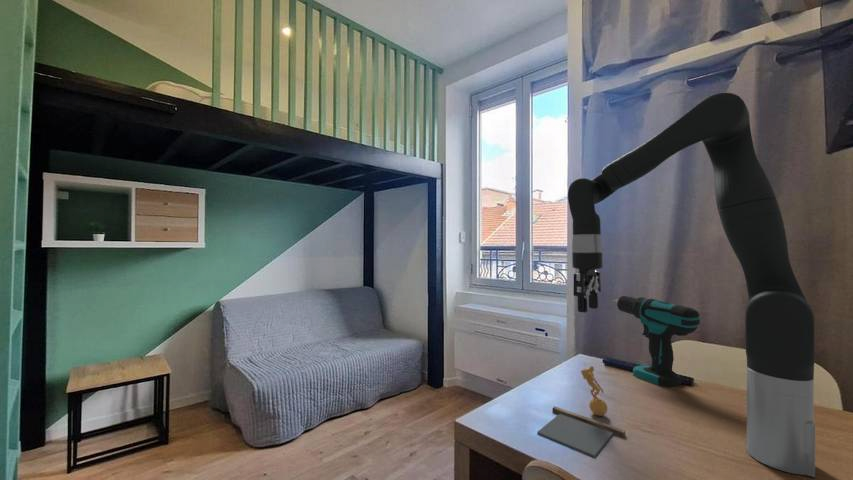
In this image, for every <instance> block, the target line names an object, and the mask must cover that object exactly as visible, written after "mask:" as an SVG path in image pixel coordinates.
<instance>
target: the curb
mask: <svg viewBox="0 0 853 480" xmlns="http://www.w3.org/2000/svg"><path fill="white" fill-rule="evenodd" d="M552 413H555V414H557V415H559V414H563V415H566V416H568V417H571V418H574V419H577V420H580V421H582V422H585V423H588V424H591V425H594V426H596V427H599V428H602V429H605V430H608V431H611V432H613V435H616V436H619V437H622V438H624V437H625V436H626V430H624V429H622V428H619V427H617V426H613V425H610V424H608V423H606V422H601V421H599V420H596V419H593V418H590V417H587V416H584V415H581V414H579V413H576V412H572V411H569V410H567V409H564V408H561V407H558V406H555V405H554V406H553V407H552Z"/></svg>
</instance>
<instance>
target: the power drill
mask: <svg viewBox="0 0 853 480" xmlns="http://www.w3.org/2000/svg"><path fill="white" fill-rule="evenodd" d="M612 302H613V303H615V304H616V306H617V308H618V310H619V311H620V312H624V313H627V314H630V315H633V316H634V317H635V319H639V320H640V324H641V325H642V326H643V332H642V334H641V335H642V336H644V337H645V338H648V351H649V355H650V358H651V360H652V361H651V362H652V363H651V365H643V364H642V365H637V366H634V367H633V368H632V377H633V376H634V377H635V378H638V379H640V380H643V381H646V382H648V383H651V384H655V385H657V386H658V387H663V388H668V389H669V388H674V387H678V386H681V385H682V384H683V383H682V382H683V381H682V379H683V377H681V375H679V374H677V373H676V371H673V365H674V350H673V344H672V337H673V336H674V335H676V336H679V337H683V336H684V337H686V336H687V335H689V334H692V333H694V332H695V331H696V330H697V329H698V327H699V325H700V323H701V319H700V313H699V312H698V311H697V310H696V309H695V308H693V307H690V306H685V305H680V304H673V303H671V302H670V303H669V302H665V301H661V300H657V299H656V298H655V299H654V298H647V297H640V296H639V297H638V298H637V297H633V296H627V295H622V296H620V297H618V298H617V299H613V300H612Z"/></svg>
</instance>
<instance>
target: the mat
mask: <svg viewBox="0 0 853 480" xmlns="http://www.w3.org/2000/svg"><path fill="white" fill-rule="evenodd" d="M537 435H540V436H542V437H544V438H546V439H550V440H551V441H554V442H557V443H559V444H560V445H561V444H562V445H564V446H566V447H569V448H571V449H574V450H576V451H578V452H581V453H583V454H585V455H588V456H590V457H593V458H596V457H597V455H598V454H599V453H600V452H601V450H602V449H603V447H604V446H605V445H606V444H607V443H608V441H609V440H610V439H611V437H613V435H614V434H613V432H611V431H608V430H605V429H602V428H599V427H596V426H594V425H591V424H588V423H585V422H582V421H580V420H577V419H574V418H571V417H568V416H566V415H563V414H557V415H556V416H555V417H554V418H552V419H551V420H550V421H549V422H548V423H546V424H545V425H544V426H543V427H541V428H540V429H539V430H538V431H537Z"/></svg>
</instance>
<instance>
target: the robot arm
mask: <svg viewBox="0 0 853 480" xmlns="http://www.w3.org/2000/svg"><path fill="white" fill-rule="evenodd" d="M750 122H751V121H750V112H749V110H748V107H747V105H746V103H745V101H744V100H743V98H741V97H740V96H739V95H738V94H736V93H735V94H734V93H732V92H719V93H715V94H712V95H710V96H708V97H706V98H705V99H703V100H701V101H700V102H698V103H697V104H696V105H695V106H693V107H692V108H691V109H689V110H688V111H687V112H685V113H684V114H683V115H682V116H681V117H679V118H678V119H677V120H676V121H674V122H673V123H671V124H670V125H668V126H667V127H666V128H665V129H663V130H662V131H660V132H658V133H657V134H656V135H654V136H653V137H652V138H650V139H648V140H647V141H645V142H644V143H642V144H640V145H639V146H638V147H635V148H634V149H632V150H631V151H628V152H627V153H626V154H623V155H621V156H620V157H619V158H617V159H614V160H613V161H612V162H610V163H608V164H607V165H605V166H604V167H603V168H602V169H601V173H600V174H598V175H597V176H595V177H593V178H592V179H589V178H585V177H579V178H576V179H574V180H573V181H572V182H571V183H570V185H569V186H568V190H567V201H568V206H569V211H570V215H571V217H572V244H571V251H572V254H571V255H572V256H571V257H572V259H571V260H572V263H571V264H572V268H573V269H575V270H576V269H578V272H577V273H575V272H574V273H573V296H574V297H576V298H577V311H578V312H579V313H587V312H588V307H589V309H598V308H599V302H598V301H599V294H600V293H601V291H602V289H601V288H602V287H601V271H598V270H600V269H603V244H602V243H603V242H602V235H601V232H602V231H601V229H602V228H601V218H600V215H599V214H598V213H597V212H596V207H595V205H597V204H598V203H601V202H603V201H605V199H607V198H609V197H610V196H611V195H613V194H614V193H616V191H618V190H619V189H621V188H624V187H626V186H627V185H630V184H631V183H633V182H636V181H637V180H639V179H640V178H643V177H644V176H646V175H647V174H649V173H650V172H652V171H654V170H655V169H656V168H657V167H659V166H660V165H661V164H663V162H665V161H666V160H668V159H669V158H671V157H672V156H674V155H675V154H677V153H679V152H680V151H682V150H684V149H686V148H688V147H690V146H693V145H695V144H698V143H699V142H702V143H703V145H704V148H705V150H706V153H707V155H708V157H709V159H710V161H711V165H712V170H713V179H714V181H713V183H714V185H713V186H714V196H715V203H716V207H717V212H718V215H719V219H720V221H721V225H722V229H723V231H724V234H725V236H726V238H727V240H728V243H729V244H730V247H731V248H732V250H733V252H734V255H736V258H737V260H738V262H739V263H740V267H741V269H742V272H743V274H744V275H743V276H744V279H745V284H746V289H747V295H748V303H747V305H746V309H745V319H744V320H745V321H744V324H745V325H744V326H745V355H746V441H745V442H746V452H747V453H748V454H749V456H750V457H752V458H753V459H754V460H755V461H758V462H760V463H762V464H764V465H765V466H768V467H770V468H773V469H776V470H779V471H782V472H786V473H789V474H795V475H802V476H808V477H812V478H816V424H815V419H814V418H815V417H814V416H815V415H814V414H815V413H814V411H815V409H814V407H815V405H814V401H815V400H814V397H815V396H814V389H815V388H814V387H815V386H814V385H815V384H814V383H815V382H814V380H815V379H814V378H815V377H814V375H815V374H814V371H815V315H814V312H813V311H814V310H813V309H812V305H810V303H809V301H808V300H807V299H806V296H805V294H804V293H803V290H802V288H801V286H800V284H799V282H798V279H797V277H796V274H795V273H794V271H793V268H792V264H791V261H790V257H789V247H788V239H787V234H786V229H785V223H784V219H783V215H782V213H781V209H780V206H779V203H778V200H777V196H776V194H775V191H774V189H773V187H772V184H771V182H770V180H769V178H768V176H767V174H766V172H765V171H764V168H763V167H762V165H761V163H760V160H758V159H759V158H758V157H757V154H756V151H755V147H754V143H753V136H752V131H751V130H752V129H751V123H750Z"/></svg>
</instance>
